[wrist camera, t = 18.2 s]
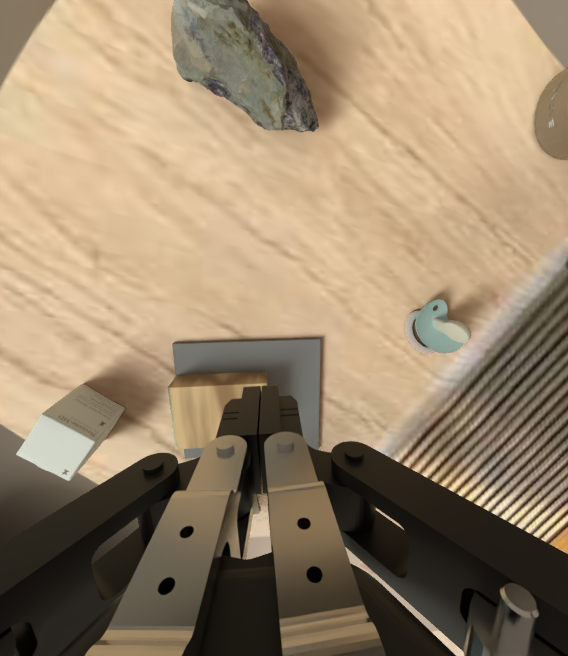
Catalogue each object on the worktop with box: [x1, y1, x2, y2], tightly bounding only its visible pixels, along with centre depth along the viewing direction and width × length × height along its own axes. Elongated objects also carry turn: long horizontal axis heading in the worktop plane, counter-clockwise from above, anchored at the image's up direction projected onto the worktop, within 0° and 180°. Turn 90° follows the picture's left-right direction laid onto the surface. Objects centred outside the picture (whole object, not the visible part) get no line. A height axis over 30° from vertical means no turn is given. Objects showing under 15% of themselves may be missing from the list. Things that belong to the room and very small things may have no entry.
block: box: [168, 371, 267, 449], centre depth 37 cm, size 4×8×11 cm
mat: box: [172, 338, 321, 458], centre depth 39 cm, size 18×16×1 cm
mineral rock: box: [171, 0, 319, 132], centre depth 26 cm, size 13×11×10 cm
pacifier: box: [405, 299, 471, 354], centre depth 36 cm, size 7×6×6 cm
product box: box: [17, 384, 125, 481], centre depth 35 cm, size 6×6×7 cm
